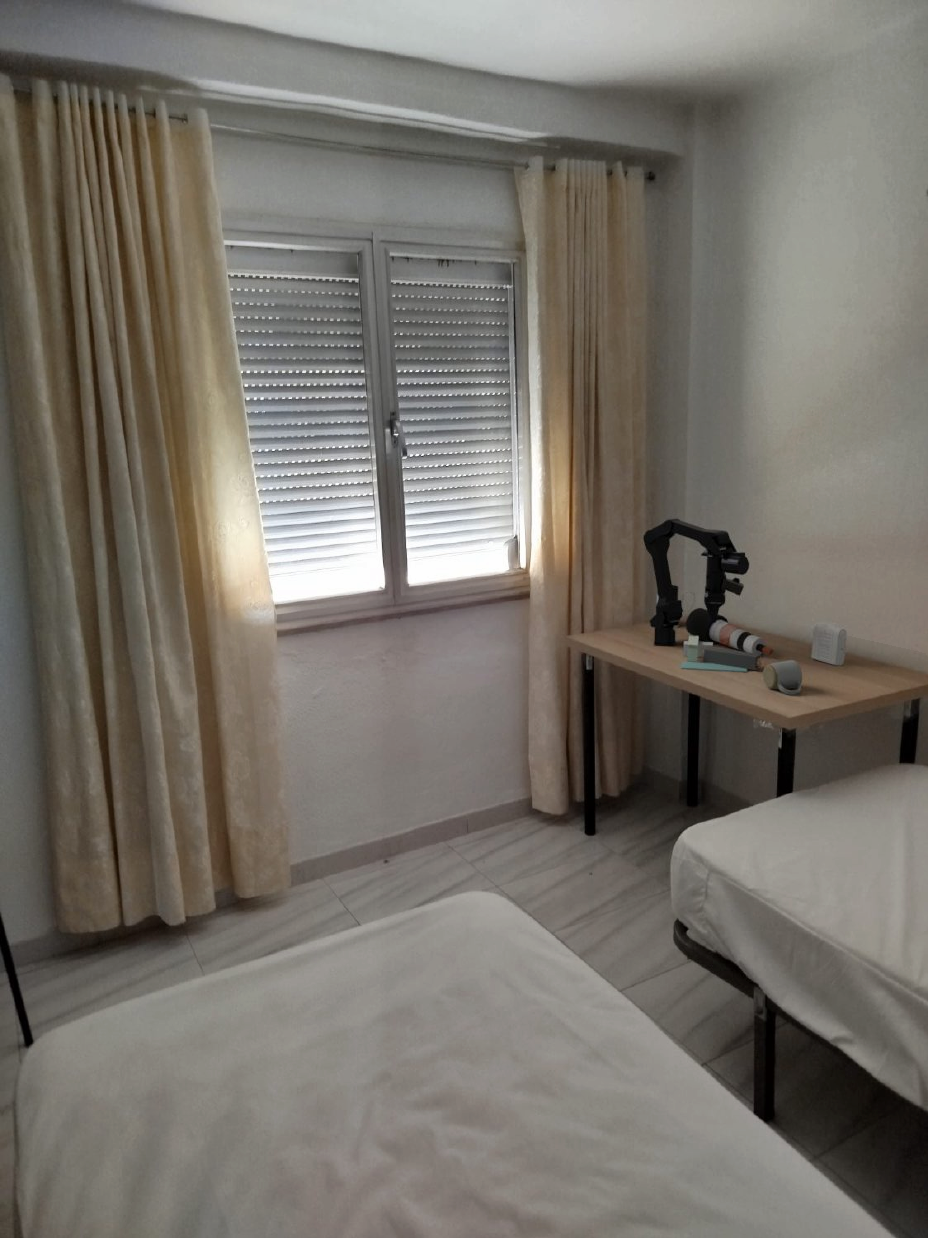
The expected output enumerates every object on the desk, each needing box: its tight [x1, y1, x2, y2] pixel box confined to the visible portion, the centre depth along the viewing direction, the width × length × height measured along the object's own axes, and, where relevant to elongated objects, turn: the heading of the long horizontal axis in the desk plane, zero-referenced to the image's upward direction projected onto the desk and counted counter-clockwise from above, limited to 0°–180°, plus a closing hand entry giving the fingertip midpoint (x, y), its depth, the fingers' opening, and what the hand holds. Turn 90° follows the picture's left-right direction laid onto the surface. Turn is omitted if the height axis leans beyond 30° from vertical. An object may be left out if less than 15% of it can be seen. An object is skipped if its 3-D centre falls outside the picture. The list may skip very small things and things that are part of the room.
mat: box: [680, 661, 748, 673], centre depth 243 cm, size 19×7×1 cm, turn 73°
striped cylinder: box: [685, 607, 775, 656], centre depth 264 cm, size 10×34×10 cm, turn 26°
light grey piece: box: [686, 634, 700, 662], centre depth 255 cm, size 3×13×6 cm, turn 163°
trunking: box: [682, 640, 714, 658], centre depth 257 cm, size 9×4×4 cm, turn 73°
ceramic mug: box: [762, 659, 803, 696], centre depth 220 cm, size 11×8×8 cm
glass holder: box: [656, 584, 696, 629], centre depth 296 cm, size 9×14×15 cm, turn 67°
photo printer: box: [811, 621, 847, 667], centre depth 245 cm, size 10×4×12 cm, turn 25°
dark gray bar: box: [702, 646, 763, 671], centre depth 244 cm, size 18×4×4 cm, turn 50°
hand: (713, 619), depth 253 cm, fingers open, 9 cm apart
